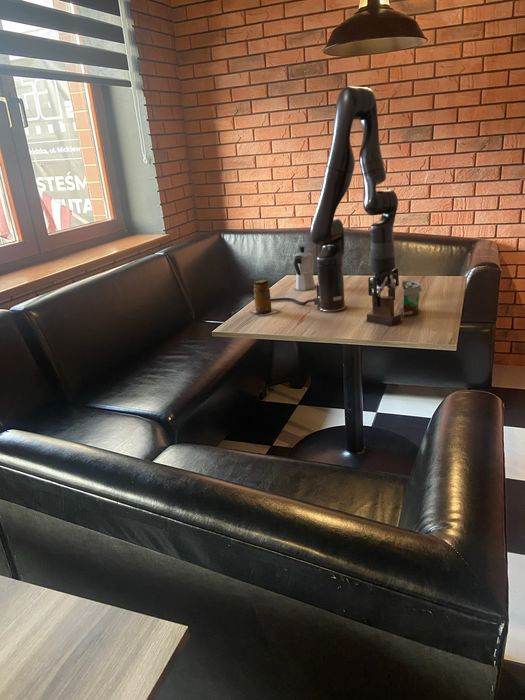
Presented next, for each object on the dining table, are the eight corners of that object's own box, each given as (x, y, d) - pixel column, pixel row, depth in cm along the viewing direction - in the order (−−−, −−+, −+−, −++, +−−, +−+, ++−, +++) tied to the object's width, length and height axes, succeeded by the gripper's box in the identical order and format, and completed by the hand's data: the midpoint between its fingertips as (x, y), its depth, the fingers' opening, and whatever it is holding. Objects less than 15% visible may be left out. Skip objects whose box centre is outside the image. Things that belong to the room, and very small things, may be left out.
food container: (422, 317, 179) (422, 288, 175) (403, 318, 180) (403, 289, 177) (420, 306, 190) (420, 279, 187) (402, 307, 191) (402, 280, 188)
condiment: (267, 307, 209) (264, 277, 205) (278, 312, 202) (275, 281, 198) (251, 312, 206) (247, 281, 202) (261, 316, 199) (258, 285, 195)
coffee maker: (301, 284, 239) (298, 243, 233) (319, 284, 235) (317, 243, 229) (288, 293, 227) (284, 250, 221) (307, 293, 223) (304, 250, 217)
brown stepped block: (366, 321, 181) (365, 296, 178) (375, 317, 184) (374, 293, 181) (392, 326, 174) (391, 300, 171) (400, 321, 177) (400, 296, 174)
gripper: (385, 250, 179) (386, 297, 184) (359, 259, 169) (362, 308, 175) (404, 251, 173) (406, 299, 179) (380, 260, 164) (382, 311, 170)
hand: (384, 303), depth 177 cm, fingers open, 8 cm apart
